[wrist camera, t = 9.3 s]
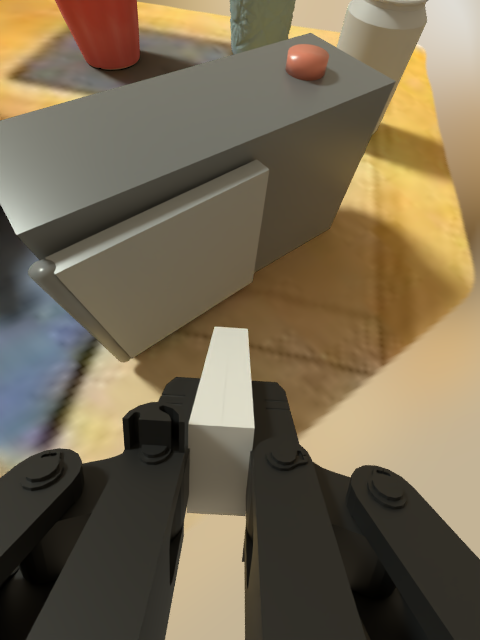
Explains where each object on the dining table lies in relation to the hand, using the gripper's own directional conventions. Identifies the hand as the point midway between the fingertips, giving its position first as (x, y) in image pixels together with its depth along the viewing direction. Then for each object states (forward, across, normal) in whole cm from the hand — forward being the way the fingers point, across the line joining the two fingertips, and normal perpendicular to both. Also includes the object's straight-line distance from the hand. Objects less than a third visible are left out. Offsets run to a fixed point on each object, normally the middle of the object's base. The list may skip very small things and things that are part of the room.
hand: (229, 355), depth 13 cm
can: (+30, +12, +18) cm, 37 cm away
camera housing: (+15, -1, +4) cm, 16 cm away
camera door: (+9, -3, -1) cm, 10 cm away
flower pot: (+39, -20, +28) cm, 52 cm away
